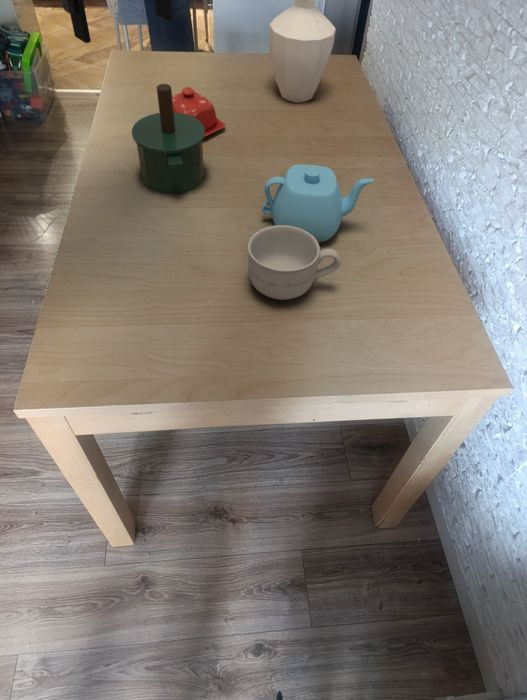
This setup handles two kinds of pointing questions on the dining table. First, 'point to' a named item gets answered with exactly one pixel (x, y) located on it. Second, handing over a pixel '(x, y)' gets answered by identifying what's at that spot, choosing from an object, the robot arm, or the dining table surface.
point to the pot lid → (167, 127)
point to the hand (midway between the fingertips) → (125, 28)
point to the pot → (172, 169)
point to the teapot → (311, 200)
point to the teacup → (286, 261)
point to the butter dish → (197, 109)
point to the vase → (300, 49)
